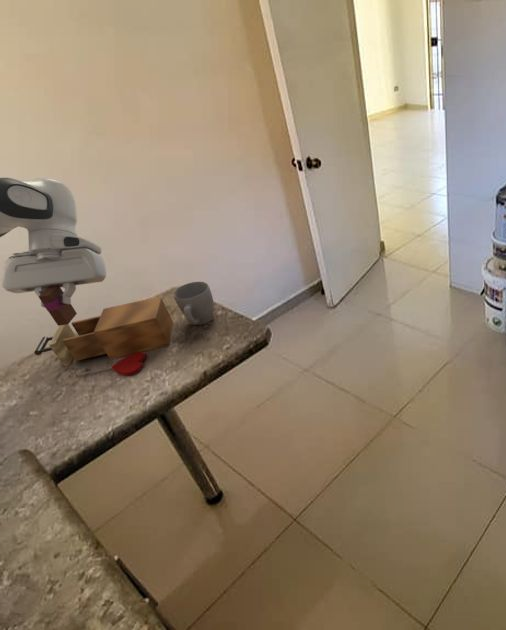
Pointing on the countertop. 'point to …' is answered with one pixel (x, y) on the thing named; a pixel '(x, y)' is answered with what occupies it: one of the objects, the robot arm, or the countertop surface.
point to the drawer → (73, 342)
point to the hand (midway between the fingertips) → (56, 305)
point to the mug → (195, 302)
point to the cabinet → (134, 327)
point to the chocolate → (57, 305)
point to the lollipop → (126, 365)
